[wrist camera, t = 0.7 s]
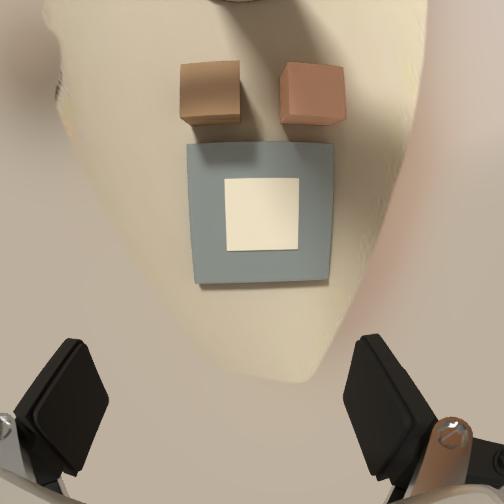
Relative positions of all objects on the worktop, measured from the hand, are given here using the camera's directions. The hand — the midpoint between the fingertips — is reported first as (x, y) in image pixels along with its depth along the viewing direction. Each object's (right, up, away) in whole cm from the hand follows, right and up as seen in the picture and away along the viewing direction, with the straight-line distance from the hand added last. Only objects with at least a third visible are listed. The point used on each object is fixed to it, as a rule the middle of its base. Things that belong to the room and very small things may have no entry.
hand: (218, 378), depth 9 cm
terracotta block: (+7, +21, +20) cm, 30 cm away
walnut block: (-3, +21, +19) cm, 29 cm away
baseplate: (+2, +9, +23) cm, 25 cm away
